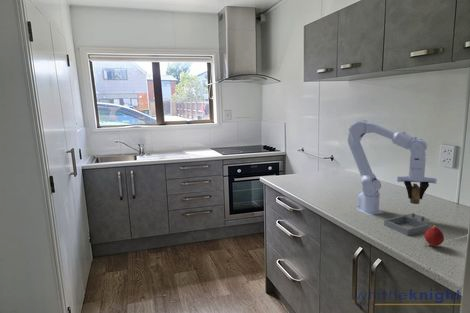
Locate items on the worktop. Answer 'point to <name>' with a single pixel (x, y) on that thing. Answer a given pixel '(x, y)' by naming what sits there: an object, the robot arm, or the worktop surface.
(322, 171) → the worktop surface
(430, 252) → the worktop surface
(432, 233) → the onion
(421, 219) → the plate
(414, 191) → the brown wooden cylinder
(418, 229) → the bin
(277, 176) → the worktop surface
